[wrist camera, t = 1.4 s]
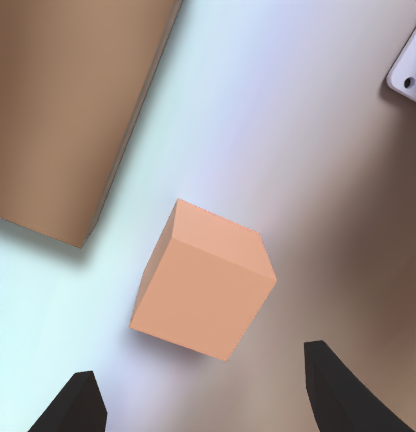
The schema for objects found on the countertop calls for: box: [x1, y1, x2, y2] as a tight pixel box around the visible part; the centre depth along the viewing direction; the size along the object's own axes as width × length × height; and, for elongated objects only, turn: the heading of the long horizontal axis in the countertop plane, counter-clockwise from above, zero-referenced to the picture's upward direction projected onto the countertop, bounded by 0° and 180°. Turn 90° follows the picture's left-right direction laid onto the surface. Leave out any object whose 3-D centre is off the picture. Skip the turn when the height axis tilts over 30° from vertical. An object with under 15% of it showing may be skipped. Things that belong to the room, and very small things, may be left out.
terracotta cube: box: [129, 198, 277, 361], centre depth 18 cm, size 5×5×5 cm
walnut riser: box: [0, 0, 183, 249], centre depth 15 cm, size 10×14×2 cm
